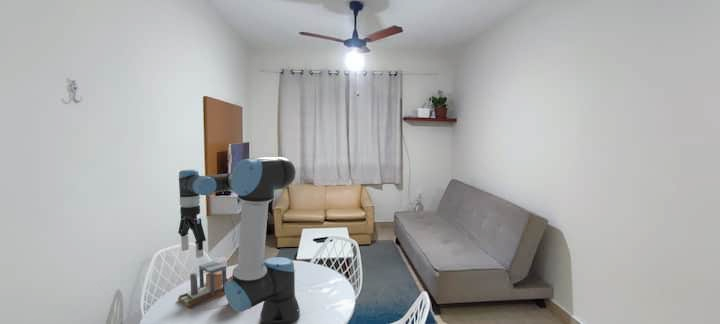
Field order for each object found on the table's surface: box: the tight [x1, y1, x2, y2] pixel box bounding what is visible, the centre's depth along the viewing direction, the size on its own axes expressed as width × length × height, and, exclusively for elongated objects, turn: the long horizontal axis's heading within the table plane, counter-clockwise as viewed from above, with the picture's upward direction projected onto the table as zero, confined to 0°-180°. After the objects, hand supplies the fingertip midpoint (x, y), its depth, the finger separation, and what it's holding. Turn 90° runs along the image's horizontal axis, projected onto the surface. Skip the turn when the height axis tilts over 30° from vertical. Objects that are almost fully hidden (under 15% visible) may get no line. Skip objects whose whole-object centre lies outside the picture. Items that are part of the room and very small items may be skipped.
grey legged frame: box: [177, 261, 229, 309], centre depth 144 cm, size 11×22×13 cm, turn 142°
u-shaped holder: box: [187, 272, 223, 299], centre depth 143 cm, size 6×14×10 cm, turn 142°
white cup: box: [209, 256, 228, 280], centre depth 160 cm, size 8×8×10 cm
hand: (192, 253), depth 138 cm, fingers open, 13 cm apart
